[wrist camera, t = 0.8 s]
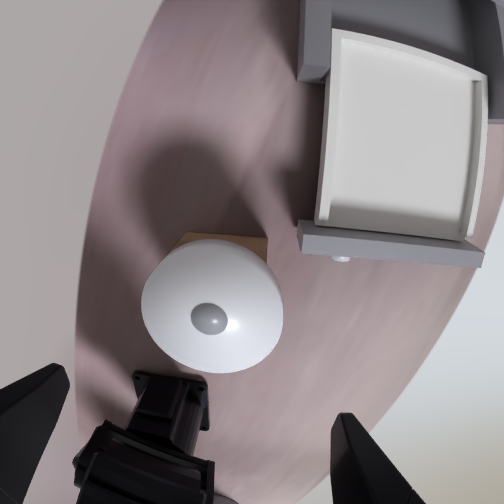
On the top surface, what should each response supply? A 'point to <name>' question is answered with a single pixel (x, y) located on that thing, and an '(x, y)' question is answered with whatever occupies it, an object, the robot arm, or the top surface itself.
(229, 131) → the top surface
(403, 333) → the top surface
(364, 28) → the player housing
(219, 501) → the pillar candle
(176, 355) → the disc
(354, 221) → the tray
